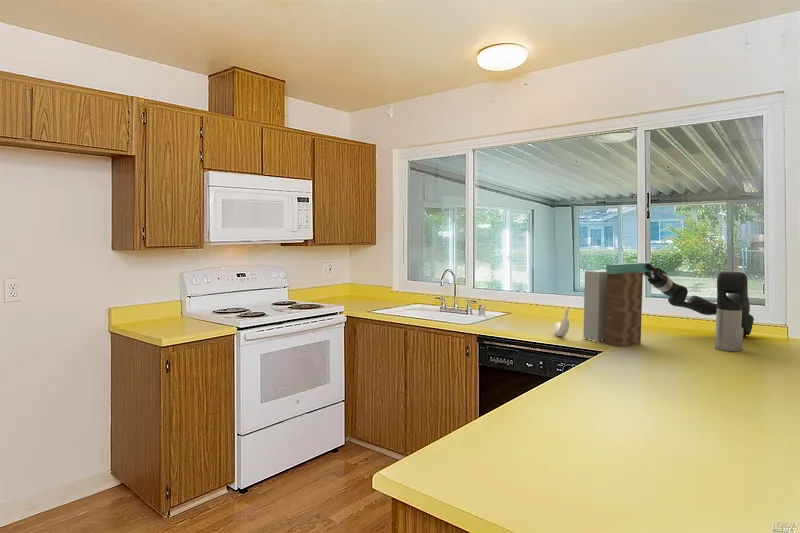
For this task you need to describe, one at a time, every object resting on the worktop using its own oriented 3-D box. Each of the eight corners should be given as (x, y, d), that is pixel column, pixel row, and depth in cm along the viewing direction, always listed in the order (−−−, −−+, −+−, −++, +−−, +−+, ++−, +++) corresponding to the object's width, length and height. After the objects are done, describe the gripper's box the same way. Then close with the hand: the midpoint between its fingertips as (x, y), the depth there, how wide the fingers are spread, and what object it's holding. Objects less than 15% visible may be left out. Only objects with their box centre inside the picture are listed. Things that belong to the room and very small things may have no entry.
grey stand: (603, 335, 253) (604, 269, 251) (617, 338, 246) (619, 270, 244) (583, 339, 246) (584, 271, 244) (597, 342, 239) (599, 272, 237)
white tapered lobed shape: (560, 332, 262) (560, 303, 261) (571, 340, 243) (572, 309, 242) (550, 332, 262) (551, 303, 261) (561, 340, 243) (562, 309, 242)
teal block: (643, 270, 244) (643, 262, 243) (651, 271, 240) (651, 262, 240) (606, 273, 230) (606, 264, 230) (614, 274, 227) (614, 264, 227)
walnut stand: (624, 340, 243) (626, 271, 241) (640, 343, 236) (642, 272, 234) (605, 343, 236) (606, 272, 234) (620, 347, 229) (622, 274, 227)
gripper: (672, 289, 241) (652, 273, 233) (643, 286, 253) (624, 270, 245) (677, 275, 242) (658, 258, 234) (649, 272, 255) (629, 256, 247)
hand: (640, 264), depth 240 cm, fingers open, 5 cm apart
